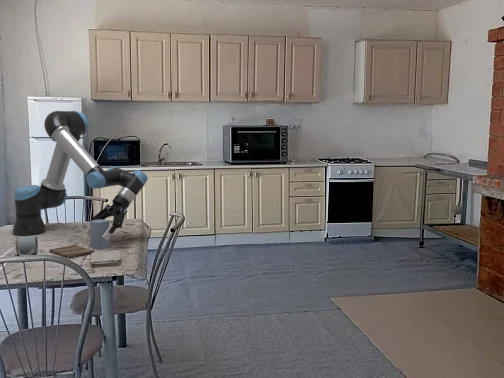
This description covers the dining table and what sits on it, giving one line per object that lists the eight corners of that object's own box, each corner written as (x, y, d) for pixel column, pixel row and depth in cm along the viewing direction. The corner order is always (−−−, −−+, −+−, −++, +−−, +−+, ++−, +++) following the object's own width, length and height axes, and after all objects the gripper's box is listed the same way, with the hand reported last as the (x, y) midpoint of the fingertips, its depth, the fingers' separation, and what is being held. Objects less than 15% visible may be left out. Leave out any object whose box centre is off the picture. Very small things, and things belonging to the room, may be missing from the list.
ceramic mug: (18, 251, 226) (17, 234, 225) (38, 250, 229) (37, 233, 228) (14, 258, 216) (13, 240, 215) (36, 257, 219) (35, 239, 218)
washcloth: (90, 269, 203) (89, 261, 202) (90, 257, 220) (90, 250, 219) (121, 266, 206) (121, 259, 206) (119, 255, 223) (119, 248, 223)
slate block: (90, 247, 235) (89, 221, 234) (102, 244, 240) (101, 219, 238) (98, 249, 231) (97, 222, 230) (110, 247, 236) (109, 220, 234)
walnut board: (49, 252, 226) (49, 249, 226) (74, 247, 235) (74, 244, 235) (68, 259, 215) (68, 256, 215) (94, 253, 224) (94, 250, 224)
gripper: (145, 207, 236) (117, 245, 227) (113, 201, 253) (86, 236, 244) (134, 197, 232) (106, 235, 223) (103, 191, 248) (75, 227, 239)
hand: (96, 236), depth 233 cm, fingers open, 13 cm apart
